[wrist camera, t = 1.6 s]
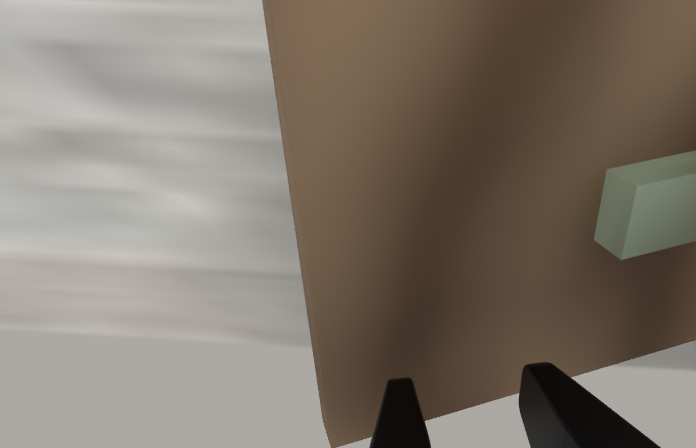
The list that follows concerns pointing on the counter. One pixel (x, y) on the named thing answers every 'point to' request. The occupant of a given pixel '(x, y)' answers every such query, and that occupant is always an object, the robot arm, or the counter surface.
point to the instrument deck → (485, 190)
